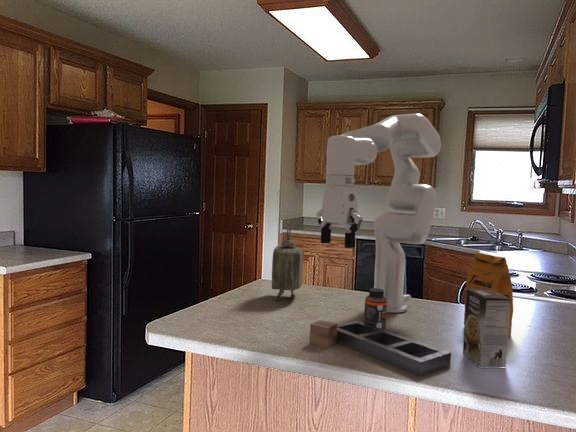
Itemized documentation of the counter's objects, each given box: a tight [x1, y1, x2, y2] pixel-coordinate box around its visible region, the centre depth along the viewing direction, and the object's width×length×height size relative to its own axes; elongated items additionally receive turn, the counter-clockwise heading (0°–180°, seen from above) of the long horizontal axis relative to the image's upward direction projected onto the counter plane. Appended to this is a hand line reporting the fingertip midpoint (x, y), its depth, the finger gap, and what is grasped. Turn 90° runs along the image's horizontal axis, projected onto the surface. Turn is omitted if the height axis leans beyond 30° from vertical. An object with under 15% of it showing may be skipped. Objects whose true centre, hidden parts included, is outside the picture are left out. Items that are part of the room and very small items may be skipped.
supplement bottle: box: [363, 287, 387, 330], centre depth 131 cm, size 6×6×11 cm
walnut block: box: [309, 319, 339, 349], centre depth 118 cm, size 5×5×5 cm
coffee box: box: [462, 289, 511, 368], centre depth 109 cm, size 9×6×16 cm
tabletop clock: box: [271, 225, 305, 302], centre depth 163 cm, size 14×9×25 cm, turn 172°
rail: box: [337, 320, 452, 377], centre depth 114 cm, size 29×11×3 cm, turn 38°
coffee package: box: [463, 251, 514, 338], centre depth 133 cm, size 10×12×22 cm
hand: (337, 245), depth 128 cm, fingers open, 9 cm apart
